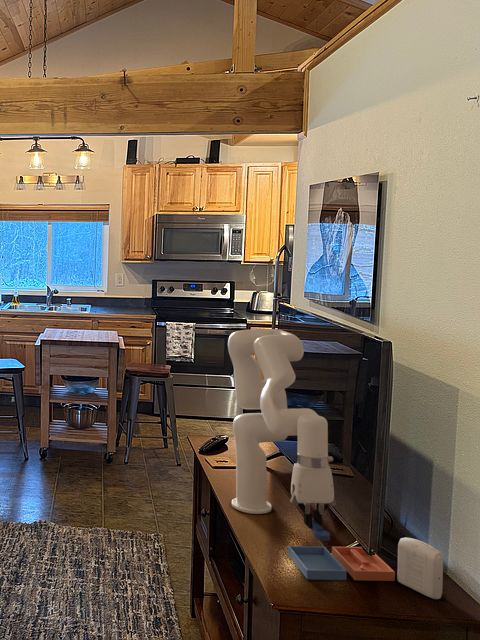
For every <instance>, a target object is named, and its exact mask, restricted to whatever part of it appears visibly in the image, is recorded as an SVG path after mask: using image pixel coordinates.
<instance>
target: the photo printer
mask: <svg viewBox="0 0 480 640" xmlns="http://www.w3.org/2000/svg"><path fill="white" fill-rule="evenodd" d="M396 573H397V577H396V578H397V582H398V583H400V584H402V585H403V586H406V587H408V588H409V589H412V590H414V591H416V592H418V593H420V594H421V595H424V596H426V597H428V598H430V599H433V600H439V599H441V598H442V595H443V585H444V583H443V582H444V581H443V580H444V575H443V574H444V556H443V554H442V552H441V551H439V550H438V549H436V548H435V547H433V546H432V545H430V544H429V543H426V542H424V541H422V540H420V539H416V538H411V537H401V538H400V539H399V541H398V544H397V572H396Z"/></svg>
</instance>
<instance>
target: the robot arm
mask: <svg viewBox="0 0 480 640" xmlns="http://www.w3.org/2000/svg"><path fill="white" fill-rule="evenodd" d="M227 349H228V354H229V357H230V361H231V363H232V366H233V374H234V375H233V376H234V390H235V391H234V392H235V393H234V394H235V400H236V404H237V406H238V407H239V408H241V409H243V410H260V411H261V412H249V413H241V414H239V415H237V416H236V417H235V418H234V419H233V421H232V431H233V436H234V437H233V438H234V442H235V443H234V445H235V484H236V485H235V487H236V488H235V489H236V490H235V494H236V497H235V498H232V500H231V506H232V508H233V509H234V510H237V511H239V512H242V513H245V514H252V515H262V514H268V513H270V512H272V510H273V506H272V504H271V503H270V502H269V501H268V500H267V496H268V495H267V492H268V491H267V490H268V489H267V485H268V484H267V483H268V482H267V475H268V474H267V467H268V466H267V455H266V452H265V451H264V450H263V449H262V447H261V446H260V444H261V443H262V444H263V443H278V442H284V441H286V439H287V438H288V437H289V436H290V437H291V436H297V437H296V438H297V447H296V448H297V449H296V450H297V462H294V463H293V468H292V472H291V473H292V474H291V483H290V494H291V497H290V500H289V503H290V505H292V506H295V507H297V508H300V509H301V510H302V512H303V523H304V524H305V526H306V527H307V528H308V529H310V530H311V529H312V518H313V519H314V520H315V521H316V522H317V523H318V524H319V525H320V526H321V525H323V515H324V514H325V512H326V511H327V509H329V508H331V507H333V506H336V505H337V502H336V500H335V488H334V486H335V485H334V478H333V474H332V469H331V466H330V462H331V463H332V462H334V457H333V456H330V455H329V431H328V429H329V428H328V427H329V424H328V420H327V419H326V418H325V417H324V416H321V415H319V414H318V413H317V412H316V411H315V410H314V409H312V408H307V407H306V408H305V407H304V408H303V407H302V408H288V398H287V393H286V390H285V389H287V388H289V387H290V386H291V385H293V384H294V383H295V381H296V373H295V371H294V369H293V366H292V364H291V362H298V361H301V360H302V358H303V357H304V353H305V350H304V344H303V343H302V341H301V339H300V338H299V337H298V336H297V335H296V334H294V333H290V332H288V331H285V330H283V329H278V328H267V329H265V328H263V329H242V330H241V329H240V330H236V331H234V332H232V333H231V334H230V335H229V337H228V340H227ZM254 356H255V357H254ZM262 375H263V377H262ZM263 378H264V379H263ZM311 504H315V509H314V510H313V514H312V513H311ZM321 527H322V526H321Z"/></svg>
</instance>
